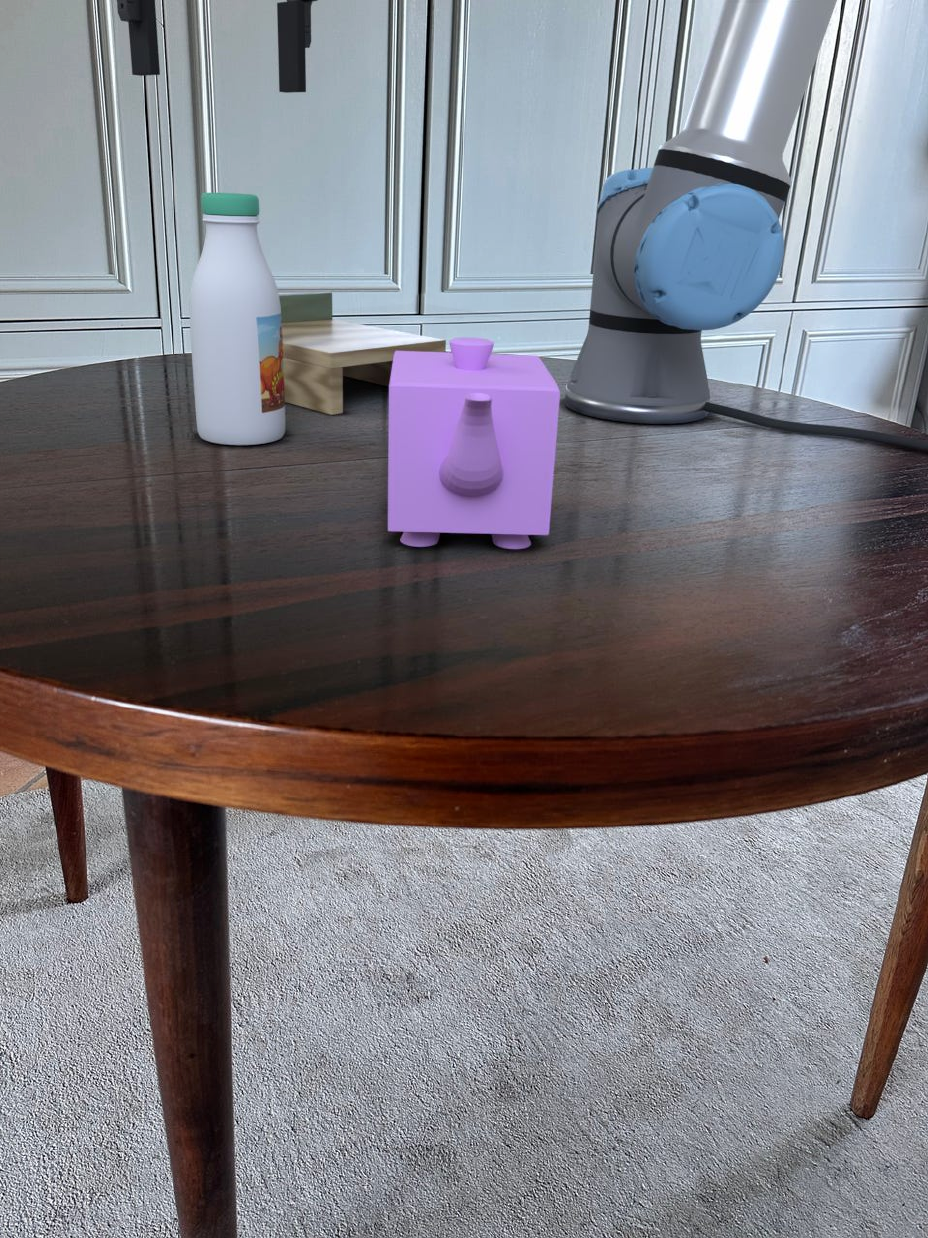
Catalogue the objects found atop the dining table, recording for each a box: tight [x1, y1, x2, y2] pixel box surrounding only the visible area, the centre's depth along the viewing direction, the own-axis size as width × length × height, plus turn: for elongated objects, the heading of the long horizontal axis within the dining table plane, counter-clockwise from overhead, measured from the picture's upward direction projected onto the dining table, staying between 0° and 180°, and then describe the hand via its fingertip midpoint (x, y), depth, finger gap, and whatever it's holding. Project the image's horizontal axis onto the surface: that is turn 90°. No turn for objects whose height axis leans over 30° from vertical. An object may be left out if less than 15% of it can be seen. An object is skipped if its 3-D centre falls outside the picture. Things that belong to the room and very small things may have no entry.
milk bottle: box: [189, 192, 286, 446], centre depth 84 cm, size 8×8×20 cm
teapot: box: [387, 336, 561, 550], centre depth 64 cm, size 20×10×12 cm, turn 2°
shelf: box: [279, 291, 447, 416], centre depth 107 cm, size 20×16×9 cm
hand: (223, 84), depth 79 cm, fingers open, 13 cm apart
